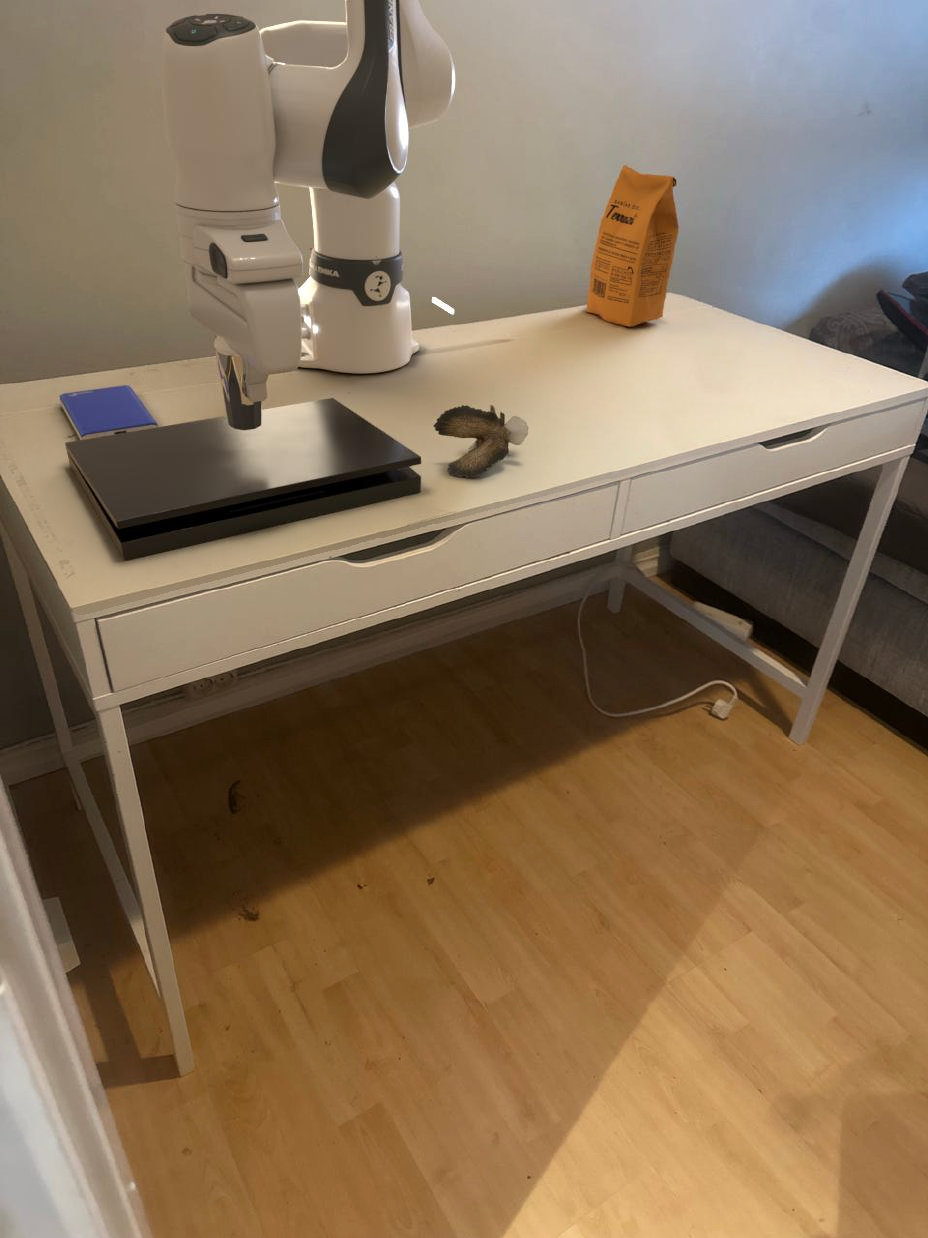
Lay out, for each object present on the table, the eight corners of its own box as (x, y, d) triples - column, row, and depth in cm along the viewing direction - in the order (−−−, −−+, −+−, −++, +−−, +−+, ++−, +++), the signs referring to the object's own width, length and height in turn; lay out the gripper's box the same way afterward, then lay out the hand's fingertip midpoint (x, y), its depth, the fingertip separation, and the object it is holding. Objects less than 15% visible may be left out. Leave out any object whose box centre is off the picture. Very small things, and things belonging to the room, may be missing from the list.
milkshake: (266, 437, 86) (259, 335, 80) (214, 429, 87) (203, 327, 81) (283, 418, 90) (277, 319, 84) (232, 411, 90) (223, 312, 84)
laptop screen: (421, 465, 90) (421, 456, 90) (118, 530, 77) (116, 521, 76) (333, 405, 105) (333, 397, 105) (66, 450, 92) (64, 442, 91)
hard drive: (58, 393, 104) (80, 433, 96) (129, 383, 108) (157, 421, 99) (61, 406, 105) (83, 447, 97) (132, 396, 109) (159, 434, 100)
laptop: (420, 492, 92) (421, 475, 91) (124, 561, 78) (120, 542, 77) (333, 419, 106) (333, 404, 105) (70, 466, 93) (66, 450, 91)
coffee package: (620, 303, 154) (641, 161, 142) (670, 323, 146) (697, 175, 133) (575, 309, 150) (593, 164, 137) (624, 330, 141) (648, 178, 129)
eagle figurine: (472, 428, 103) (419, 435, 97) (508, 386, 99) (455, 390, 92) (507, 480, 102) (456, 491, 95) (545, 440, 97) (494, 448, 91)
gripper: (159, 216, 84) (179, 361, 92) (237, 267, 70) (253, 433, 78) (224, 212, 87) (238, 353, 95) (311, 260, 73) (319, 421, 81)
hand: (245, 390), depth 86 cm, fingers closed on milkshake, 4 cm apart
